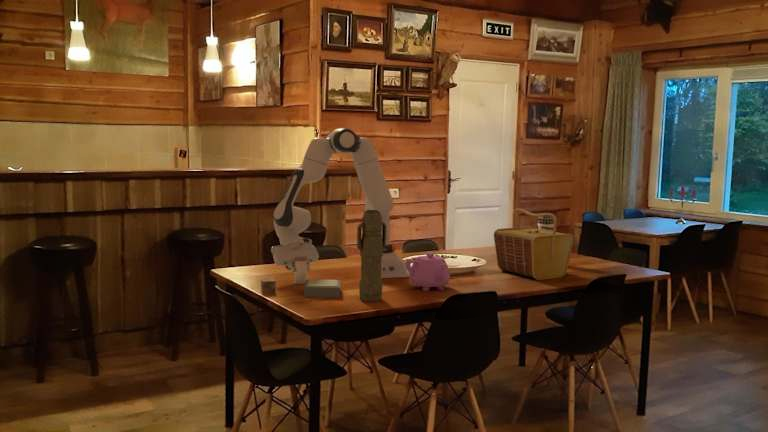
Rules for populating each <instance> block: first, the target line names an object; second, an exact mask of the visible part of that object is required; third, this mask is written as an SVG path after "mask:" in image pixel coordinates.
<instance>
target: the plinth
mask: <svg viewBox="0 0 768 432" xmlns="http://www.w3.org/2000/svg"><path fill="white" fill-rule="evenodd" d="M303 287H304V288H303V290H304V291H303V297H304V298H335V299H336V298H339V299H340V298H341V280H340V279H339V280H338V279H307V280H306V283H305V284H304V286H303Z"/></svg>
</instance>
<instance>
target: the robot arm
mask: <svg viewBox="0 0 768 432" xmlns="http://www.w3.org/2000/svg"><path fill="white" fill-rule="evenodd" d="M345 153H348V154H349V155H350V157H351V158H352V162H353V164H354V165H353V166H354V168H355V171H356V175H357V178H358V180H359V183H360V185H361V188H362V190H363V194H364V196H365V198H364V208H365V209H364V212H365V211H367V210H377V211H379V212H380V214H381V217H382V222H384V223H385V224H386V248H384V250H383V256H382V258H381V279H387V278H388V279H389V278H391V279H393V278H409V274H410V273H409V271H408V270H407V268H406V265H405V262H406V260H404V259H403V258H402V257H400V256H399V255H398V254H397V253H396V252H395V251H396V249H397V247H396V246H395V245H393V244H391V224H390V223H391V222H390V221H391V220H390V213H391V211H392V210H393V208H394V200H393V196H392V194H391V191H390V188H389V186H388V182H387V181H386V178H385V176H384V174H383V169H382V167H381V164H380V160H379V158H378V155H377V151H376V149H375V147H374V145H373V142H372V141H371V140H370V139H369V138H368V137H364V136H360V137H359V135H357V134H356V132H354V131H353V130H352V129H350V128H348V127H339V128H336V129H335V128H334V129H333V130H332V131H329V132H328V133H327V134H326V135H325V136H324V137H319V136H318V137H317V136H316V137H314V138H313V139H312V140H311V141H310V143H309V144H308V147H307V149H306V151H305V154H304V157H303V159H302V162H301V164H300V166H299V167H298V169H295V170H294V172H293V173H291V174H292V175H291V176H290V177H289V180H288V182H287V185H286V187H285V188H284V191H283V193H282V196H281V198H280V200H279V202H278V203H277V204H276V206H275V208H274V210H273V212H272V213H273V214H272V215H273V216H272V217H273V226H274V227H273V228H274V231H275V233H276V236H277V237H278V239H279V243H280V245H274V246H272V247H271V248H270V252H271V254H272V257H273V261H274V264H275V265H276V266H278V267H279V266H285V265H287V266H286V267H287V268H288V269H290V271H291V273H295V272H296V267H295V266H292V265H291V264H295V257H307V272H308V271H309V272H310V271H311V266H310V265H311V263H316V262H317V261H318V260H319V258H320V254H319V252H318V250H317V248H316V247H315V245H314V244H312V243H313V241H312V239H310V238H307V237H302V236H299V235H300V234H301V233H303V232H304V231H305V230H307V229H308V228H309V227H310V226H311V224H312V220H313V219H312V217H313V216H312V214H311V211H309V210H308V209H306V208H302V207H299V206H295V205H294V203H295V201H296V199H297V197H298V194H299V192H300V191H301V188H302V187H303V186H304V185H307V184H312V183H316V182H319V181H321V180H322V179H323V178H324V177H325V175H326V172H327V170H328V167H329V162H330V159H331V158H332V156H333V155H334V154H345ZM382 227H383V226H382ZM381 234H382V231H381Z"/></svg>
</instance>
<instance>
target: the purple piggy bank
mask: <svg viewBox="0 0 768 432" xmlns="http://www.w3.org/2000/svg"><path fill="white" fill-rule="evenodd" d="M425 254H426V255H421V256H417V257H415V259H408V260H407V259H406V260H405V265H406V270H408V271H409V273H410V274H409V277H408V278H409V280H410V282H411V284H413V285H414V287H415V288H422V289H421V291H423V292H429V291H430V288H437V290H440V291H444V290H445V287H444V286H447V285H448V284H449V283H450V280H451V272H450V269H449V266H448V264H447V262H446V260H445V258H444V257H442V256H437V255H435V253H434V252H426V253H425ZM411 264H412V265H411Z"/></svg>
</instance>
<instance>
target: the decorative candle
mask: <svg viewBox="0 0 768 432" xmlns="http://www.w3.org/2000/svg"><path fill="white" fill-rule="evenodd" d="M537 220H538V222H537V227H536V229H542V230H547V231H553V226H554V218H553V217H552V216H549V215H545V216H543V217H537Z"/></svg>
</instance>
